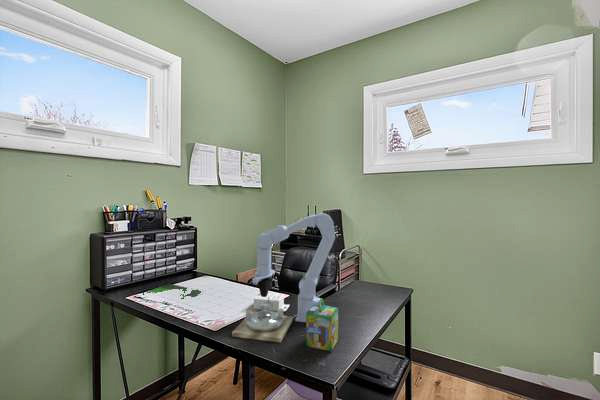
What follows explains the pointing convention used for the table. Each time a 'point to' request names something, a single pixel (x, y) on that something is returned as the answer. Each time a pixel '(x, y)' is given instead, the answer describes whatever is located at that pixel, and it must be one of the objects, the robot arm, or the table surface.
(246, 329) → the base plate
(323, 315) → the chalk box
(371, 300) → the table surface
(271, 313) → the clear bowl
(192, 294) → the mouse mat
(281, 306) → the ink cartridge box
